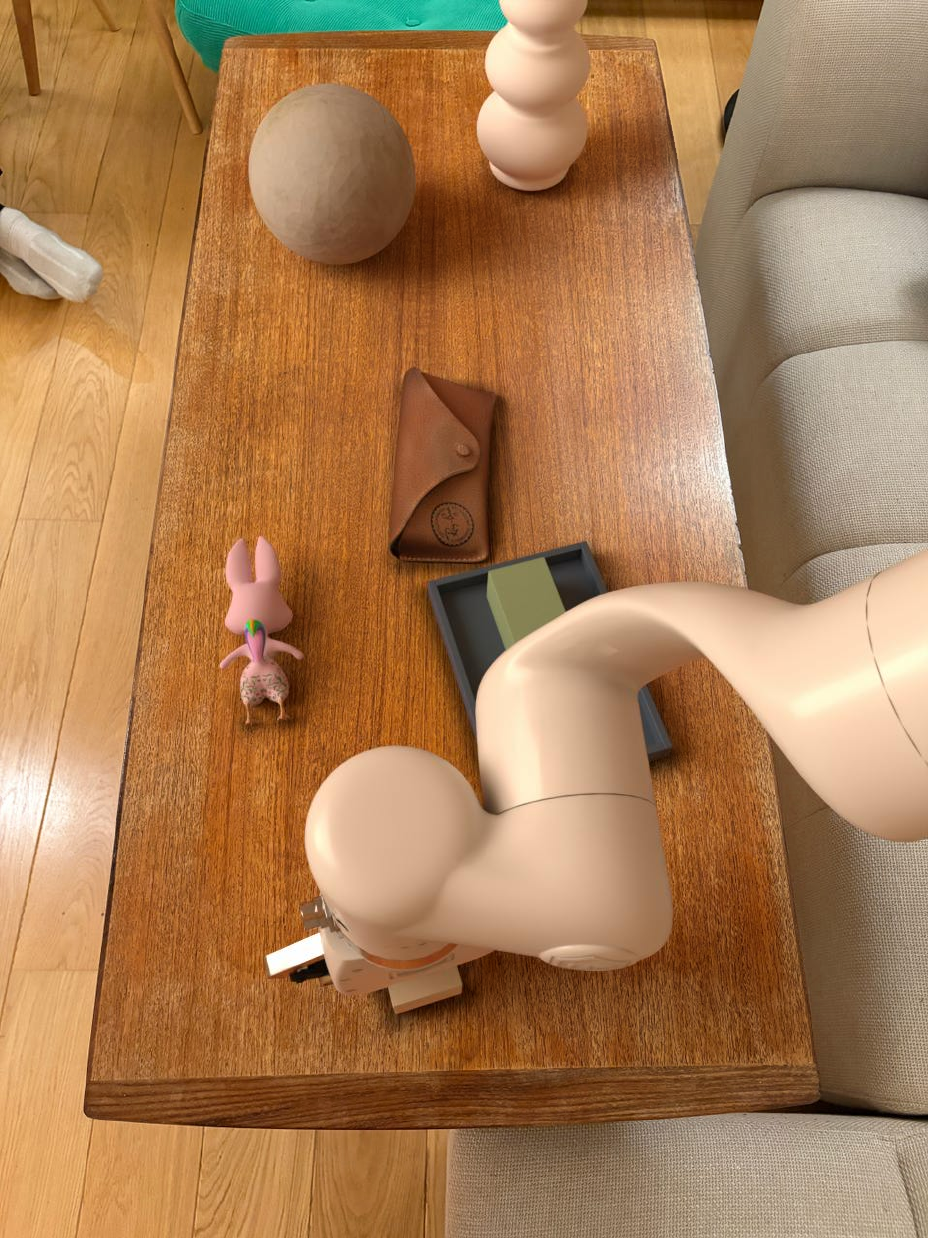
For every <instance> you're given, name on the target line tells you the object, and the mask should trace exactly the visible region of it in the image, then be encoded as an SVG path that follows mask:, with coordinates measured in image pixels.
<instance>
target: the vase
mask: <svg viewBox="0 0 928 1238" xmlns="http://www.w3.org/2000/svg"><path fill="white" fill-rule="evenodd" d="M498 1H499V2H498V3H499V6H500V10H501V12H502V14H503V16H504V17H505V19H506V20H507V23H506V25H504V26H503V27H502V28H501V29H499V31H498V32H497V33H495V34H494V36H493V37H492V39H491V41H490V43H489V44H488V46H487V50H486V54H485V57H484V69H485V74H486V78H487V80H488V82H489V84H490V87H491V88H492V89H493V91H492V92H491V94H489V96H487V98H486V99H485V101H484V102H483V103H482V105H481V107H480V110H479V113H478V116H477V121H476V137H477V141H478V144H479V147H480V149H481V151H482V153H483V155H484V156H485V158H486V159H487V160H488V162H489V168H490V170H491V172H492V174H493V176H494V177H495V178H496V179H497V180H498V181H499V182H500V183H502V184H503V185H506V186H507V187H510V188H511V189H515V190H519V191H525V192H534V191H535V192H536V191H537V192H538V191H542V190H547V189H550V188H552V187H554V186H556V185H557V184H560V182H561V181H562V180H564V178H565V177H566V175H567V174H568V172H569V170H570V169H569V168H570V167H571V166H572V165H573V164H574V163H575V162H576V161H577V160H578V158H579V157H580V156H581V154H582V152H583V150H584V148H585V145H586V142H587V140H588V139H587V138H588V131H589V127H588V126H589V124H588V118H587V114H586V111H585V109H584V107H583V105H582V103H581V102H580V100H579V98H577V96H578V95H579V94H580V93H581V91H582V90H583V89H584V88H585V86H586V84H587V82H588V80H589V76H590V74H591V73H590V72H591V55H590V51H589V48H588V46H587V44H586V42H585V40H584V38H583V37H582V35H580V33H579V32H578V31H577V30H576V28H575V25H576V24H577V23H578V22H579V21H580V20H581V19H582V18H583V16H584V14H585V11H586V10H587V6H588V2H589V1H588V0H498Z"/></svg>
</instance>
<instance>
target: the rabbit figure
mask: <svg viewBox="0 0 928 1238" xmlns="http://www.w3.org/2000/svg"><path fill="white" fill-rule="evenodd" d="M225 564H226V565H225V579H226V584H227V585H228V587H229V588H230V590H231V592H232V598H231V602H230V605H229V609H228V610H227V614H226V616H225V619H224V625H225V627H226V628H227V629H228V630H229V631H230V632H232V633H233V634H235V635H237V636H244V637H245V642H246V643H245V644H242V645H240V646H239V647H237V648H236V649H234V650H233V651H231V652H230V653H228V655H226V657H225V658H223V660H222V661H221V662H220V664H219V668H220V669H221V670H226V669H227V668H228V667H229V666H230V664H231V663H232V662H233V661H234V660H236V659H239V658H241V657H247V658H248V659H249V660H250V662H249V663H248V664H247V665H246V666H245V668H244V669H243V671H242V674H241V677H240V682H239V691H240V698H241V701H242V703H243V705H244V706H245V709H246V716H247V717H246V720H245V726H247V725H248V724H250V725H251V726H252V725H253V724H255V723H257V724H259V720H256V719H254V718H253V717H252V715H251V709H252V707H254V706H258V705H259V704H261V703H262V702H263V700H265V699H269V701H271V702H273V703H277V704H278V705H279V706H280V715H279V716H278V717H277V721H279V720H285V721H287V719H288V720H291V717H290V715H289V714H287V713H286V712H285V709H284V702H285V700H286V699H287V698H288V696H289V693H290V687H289V681H288V678H287V676H286V674H285V672H284V670H283V669H282V667H281V666H280V664H278V663H277V662H276V661H274V660H275V657H276V654H277V653H279V652H285V653H289V654H291V655H292V656H293V657H294V658H295V659H296V660H299V661H300V660H303V658H304V653H302V651H300V650H299V649H297V648H296V647H295V646H293V645H291V644H288V643H286V642H284V641H281V640H275V639H273V638H270V637H269V635H270V634H272V633H277V632H280V631H282V630H284V629H285V628H287V626H288V625H289V624H290V623H291V622H292V619H293V611H292V610H291V609H290V607H289V605H287V602H286V601H285V600H284V598H283V597H282V595H281V593H280V590H279V587H280V586H279V585H280V582H281V577H282V569H281V564H280V560H279V558H278V553H277V552H276V549H275V547H274V545H272V543H271V542H270V541H269V540H268V539H267V538H266V537H265V536H263V535H259V536H258V538H257V543H256V547H255V551H254V566H255V567H254V571H255V581H254V580H253V571H252V563H251V556H250V552H249V549H248V546H247V543H246V539H245V538H243V537H241V538H239V539H238V540H237V541H236V542H235V543H234V544H233V546H232V547H231V549H230V550H229V552H228V555H227V557H226V563H225Z"/></svg>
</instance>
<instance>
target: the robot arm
mask: <svg viewBox="0 0 928 1238" xmlns="http://www.w3.org/2000/svg"><path fill="white" fill-rule="evenodd" d="M701 659H707V660H709V662H711V664H712V665H713V666H714V667H715V668H716V669H717V671H718V672H719V673H720V674H721V675H722V676H723V677H724V678H725V679H726V681H727V682H728V683H729V685H730V686H731V687H732V689H734V690H735V692H736V693H737V694H738V696H739V697H740V699H742V700H743V701H744V703H745V704H746V705H747V707H748V708H749V709H750V710H751V712H752V713H753V715H754V716H755V717H756V718H757V720H758V721H759V722H760V724H761V725H762V727H763V728H764V730H765V731H766V732H767V733H768V735H769V736H770V738H771V739H772V740H773V741H774V743H775V744H776V745H777V747H778V749H780V751H781V753H783V755H784V756H785V757H786V759H787V760H788V761H789V763H790V764H791V766H793V768H794V769H795V771H796V772H797V774H798V775H799V776H800V777H801V778H802V779H803V781H805V783H806V784H807V785H808V786H809V787H810V788H811V789H812V791H814V793H815V794H817V796H819V798H820V799H821V800H822V801H823V802H825V804H826V805H827V806H828V807H830V809H831V810H833V812H835V813H836V814H837V815H838V816H839V817H841V818H842V819H843V820H845V821H846V822H847V823H849V824H850V825H852V826H854V827H855V828H857V829H859V830H861V831H862V832H864V833H865V834H868V835H871V836H873V837H875V838H879V839H880V840H881V839H882V840H885V841H889V842H895V843H913V842H914V843H915V842H919V841H923V840H928V547H927V548H926V549H923V550H921V551H919V552H917V553H915V554H913V555H911V556H909V557H907V558H904V559H903V560H901V561H898V562H897V563H894V564H893V565H891V566H889V567H885V569H882V570H880V571H878V572H876V573H874V574H871V575H870V576H868V577H866V578H864V579H863V580H860V581H858V582H856V583H854V584H853V585H850V586H848V587H846V588H845V589H843V590H841V591H839V592H837V593H835V594H833V595H830V596H828V597H826V598H824V599H821V600H819V601H816V602H813V603H808V604H797V603H793V602H788V601H786V600H784V599H781V598H778V597H774V596H772V595H769V594H766V593H763V592H760V591H756V590H753V589H749V588H745V587H742V586H738V585H732V584H726V583H719V582H713V581H694V580H681V581H670V582H669V581H668V582H666V581H665V582H654V583H653V582H652V583H647V584H646V583H645V584H640V585H634V586H629V587H625V588H620V589H617V590H616V589H615V590H613V591H609V592H608V593H605V594H602V595H599V596H596V597H594V598H592V599H589V600H587V601H585V602H583V603H581V604H579V605H578V606H576V607H574V608H572V609H570V610H569V611H567V612H565V613H564V614H562V615H561V616H559V617H557V618H556V619H554V620H552V621H551V622H549V623H547V624H545V625H544V626H542V627H540V628H539V629H537V630H535V631H534V632H532V633H531V634H529V635H527V636H526V637H524V638H523V639H521V640H519V641H518V642H516V643H515V644H514V645H512V646H511V647H510V648H508V649H507V650H506V651H505V652H503V653H502V654H501V655H500V656H499V657H498V658H497V659H496V660H495V661H494V662H493V664H492V665H491V666H490V668H489V669H488V670H487V672H486V673H485V675H484V677H483V678H482V681H481V683H480V685H479V689H478V692H477V699H476V730H477V741H476V745H477V746H476V747H477V758H478V769H479V779H480V780H479V781H480V788H481V798H482V804H481V803H480V800H479V798H478V796H477V794H476V792H475V790H474V788H473V787H472V785H471V784H470V782H469V781H468V780H467V778H466V777H465V776H464V774H463V773H462V772H461V771H460V770H459V769H458V768H456V767H455V766H454V765H453V764H452V763H451V762H449V761H448V760H446V759H444V758H443V757H442V756H440V755H438V754H436V753H433V752H431V751H429V750H425V749H424V748H420V747H415V746H410V745H395V744H393V745H385V746H378V747H374V748H371V749H368V750H367V749H366V750H364V751H361V752H359V753H358V754H355V755H353V756H351V757H349V758H348V759H346V760H345V761H344V762H342V763H341V764H340V765H338V766H337V767H336V768H334V770H333V771H332V772H331V773H329V775H328V776H327V777H326V779H325V780H324V781H322V783H321V784H320V786H319V788H318V789H317V791H316V793H315V795H314V797H313V799H312V801H311V803H310V806H309V809H308V813H307V816H306V820H305V827H304V848H305V855H306V860H307V863H308V866H309V870H310V872H311V876H312V877H313V880H314V882H315V884H316V886H317V888H318V890H319V895H318V896H315V897H313V900H310V901H306V902H304V903H300V904H299V908H300V909H299V910H300V913H301V919H302V922H303V926H304V930H305V931H306V932H308V931H311V930H314V929H318V933H315V934H313V935H311V936H309V937H306V938H304V939H301V940H299V941H297V942H295V943H293V944H290V945H287V946H286V947H283V948H281V949H278V950H276V951H274V952H271V953H269V954H267V955H265V956H264V957H263V963H264V966H265V972H266V977H267V979H268V980H274V979H280V980H281V979H286V978H288V977H289V981H290V982H291V983H295V984H297V985H298V984H303V983H305V982H307V981H309V980H314V979H318V983H319V987H321V988H322V987H323V988H324V987H329V986H332V985H333V986H334V988H335V990H336V991H337V992H338V993H340V994H342V995H344V996H347V997H355V996H361V995H365V994H369V993H373V992H376V991H380V990H383V989H388V987H390V986H393V985H396V984H400V983H403V982H406V981H409V980H413V979H416V978H419V977H422V976H425V975H428V974H432V973H435V972H438V971H441V970H444V969H447V968H450V967H453V966H457V967H458V966H460V965H463V964H466V963H468V962H471V961H475V960H477V959H479V958H482V957H485V956H488V955H489V954H491V953H493V952H494V951H499V952H506V953H511V954H517V955H521V956H522V955H523V956H528V957H533V958H539V959H540V960H541V961H543V962H544V963H546V964H548V965H551V966H554V967H558V968H561V969H566V970H573V971H574V970H575V971H582V972H583V971H584V972H585V971H587V972H605V971H613V970H614V971H616V970H621V969H623V968H627V967H631V966H633V965H634V964H637V963H638V962H639V961H643V960H645V959H647V958H649V957H651V956H654V955H655V954H656V953H658V952H659V951H660V950H661V949H662V948H663V947H664V946H665V945H666V944H667V942H668V940H669V938H670V936H671V933H672V929H673V922H674V919H673V918H674V909H673V896H672V889H671V884H670V883H671V882H670V876H669V871H668V866H667V860H666V859H667V858H666V855H665V849H664V848H665V847H664V844H663V837H662V832H661V826H660V820H659V814H658V809H657V802H656V797H655V791H654V785H653V779H652V773H651V768H650V767H651V766H650V762H649V761H648V756H647V750H646V744H645V739H644V733H643V727H642V721H641V714H640V708H639V703H638V692H639V690H640V689H641V688H642V687H643V686H645V685H646V684H647V685H648V684H649V683H650V682H652V681H654V680H656V679H658V678H660V677H662V676H664V675H665V674H668V673H669V672H670V673H671V671H675V670H676V669H678V668H680V667H682V666H685V665H687V664H690V663H694V662H695V661H699V660H701Z"/></svg>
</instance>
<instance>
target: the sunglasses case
mask: <svg viewBox="0 0 928 1238" xmlns="http://www.w3.org/2000/svg"><path fill="white" fill-rule="evenodd" d="M402 381H403V382H402V390H401V399H400V406H399V415H398V426H397V437H396V448H395V449H396V450H395V460H394V470H393V481H392V491H391V493H392V494H391V505H390V518H389V519H390V521H389V534H388V535H389V536H388V538H389V540H388V548H389V552H390V554H391V555H392V556H393V557H395V558H396V559H398V560H400V561H402V562H409V563H411V562H412V563H428V564H429V563H430V564H464V563H465V564H475V563H482V562H484V561H487V559H489V557H490V536H489V517H488V516H489V515H488V514H489V512H488V510H489V509H488V506H489V505H488V499H489V498H488V497H489V495H488V494H489V468H490V451H491V438H492V427H493V420H494V415H495V407H496V402H497V393H496V392H495V391H489V390H478V389H474V388H472V387H468V386H466V385H462V384H460V383H456V382H453V381H450V380H448V379H444V378H441V377H438V376H436V375H433V374H430V373H427V372H424V371H421V368H419V367H417V366H412V367H410V368H408V369H407V370H406V371H405V372H404V376H403V380H402Z"/></svg>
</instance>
